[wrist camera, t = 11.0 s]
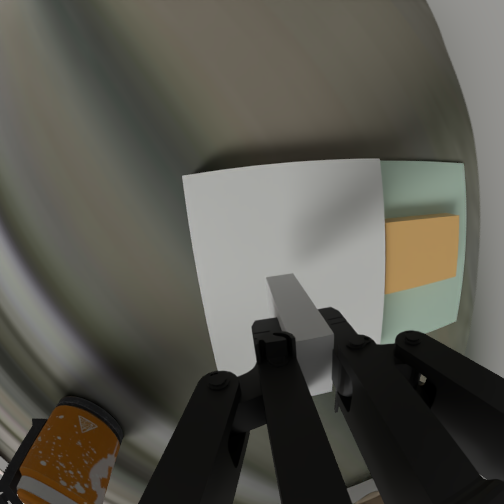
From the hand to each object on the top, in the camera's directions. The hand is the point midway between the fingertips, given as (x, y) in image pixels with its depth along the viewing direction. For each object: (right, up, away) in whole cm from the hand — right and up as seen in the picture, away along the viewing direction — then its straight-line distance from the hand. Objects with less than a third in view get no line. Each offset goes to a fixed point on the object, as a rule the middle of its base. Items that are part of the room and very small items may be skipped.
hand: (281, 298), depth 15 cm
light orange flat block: (+13, +3, +7) cm, 16 cm away
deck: (+2, 0, +7) cm, 7 cm away
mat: (+15, +2, +8) cm, 18 cm away
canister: (-22, -18, +9) cm, 30 cm away
